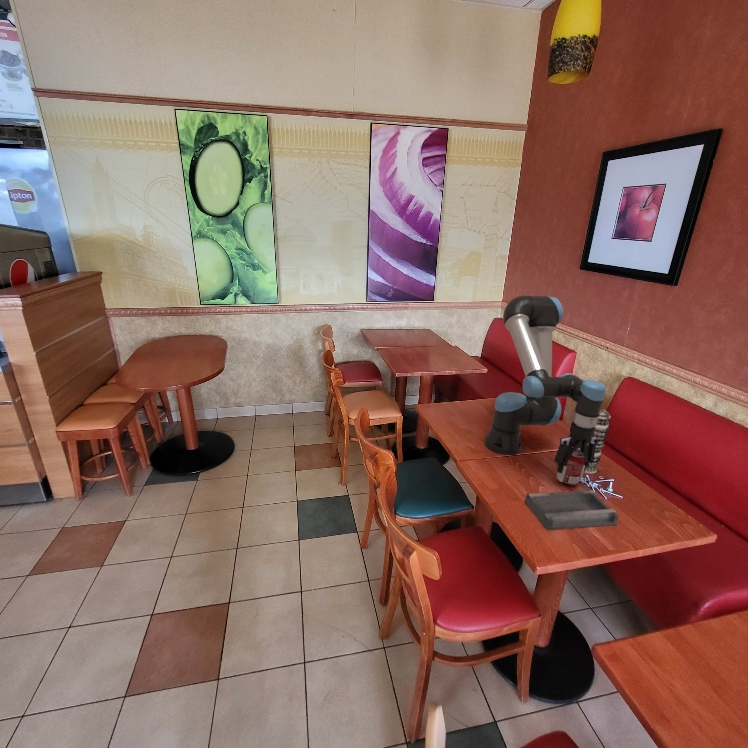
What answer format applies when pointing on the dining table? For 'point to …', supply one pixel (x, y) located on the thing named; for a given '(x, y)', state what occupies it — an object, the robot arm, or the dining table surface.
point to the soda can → (574, 467)
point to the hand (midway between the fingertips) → (568, 479)
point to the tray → (571, 509)
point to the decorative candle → (599, 439)
